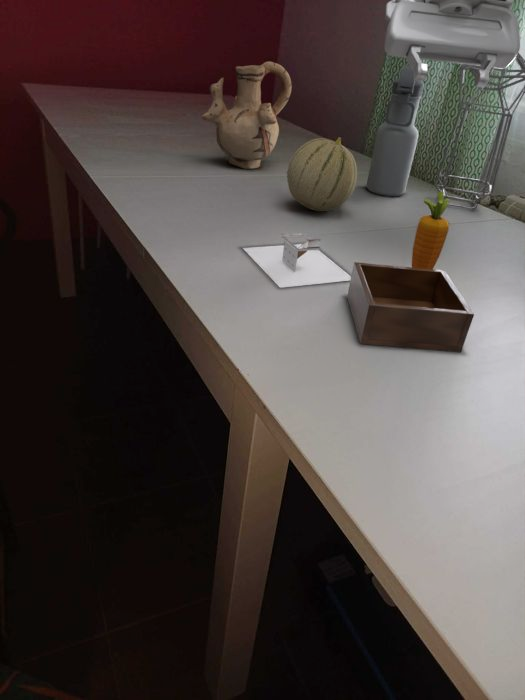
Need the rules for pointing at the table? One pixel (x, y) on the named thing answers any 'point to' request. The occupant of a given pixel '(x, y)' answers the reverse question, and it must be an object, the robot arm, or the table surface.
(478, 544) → the table surface
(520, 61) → the metal wire rack
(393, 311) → the basket
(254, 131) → the ceramic vessel
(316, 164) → the cantaloupe
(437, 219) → the carrot
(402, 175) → the water bottle
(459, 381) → the table surface
